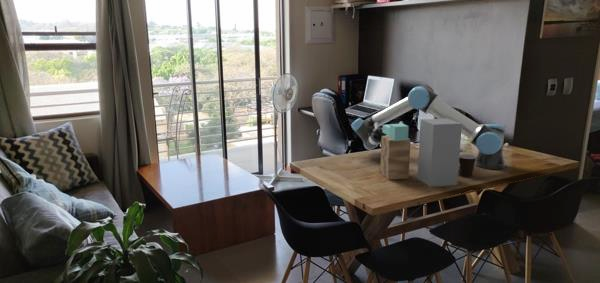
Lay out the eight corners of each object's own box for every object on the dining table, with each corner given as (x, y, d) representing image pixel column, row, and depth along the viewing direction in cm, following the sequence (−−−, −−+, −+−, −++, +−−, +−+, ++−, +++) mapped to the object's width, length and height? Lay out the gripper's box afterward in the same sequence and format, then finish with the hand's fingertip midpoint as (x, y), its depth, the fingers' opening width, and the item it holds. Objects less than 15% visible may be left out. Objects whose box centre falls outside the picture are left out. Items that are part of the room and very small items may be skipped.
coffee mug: (472, 178, 223) (474, 159, 221) (454, 176, 228) (456, 157, 226) (477, 173, 233) (478, 154, 231) (460, 170, 237) (461, 152, 235)
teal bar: (379, 132, 238) (380, 119, 236) (392, 131, 239) (392, 118, 238) (394, 140, 218) (394, 126, 216) (407, 140, 219) (408, 126, 217)
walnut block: (380, 173, 234) (381, 135, 229) (400, 171, 236) (401, 134, 231) (387, 179, 223) (389, 140, 219) (408, 178, 225) (410, 139, 221)
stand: (417, 178, 225) (420, 119, 219) (443, 176, 228) (447, 118, 221) (429, 186, 212) (433, 124, 205) (457, 185, 214) (461, 123, 207)
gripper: (399, 142, 253) (413, 130, 233) (356, 144, 249) (367, 131, 229) (397, 129, 255) (411, 116, 235) (355, 131, 251) (365, 118, 231)
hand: (389, 124), depth 232 cm, fingers open, 13 cm apart
